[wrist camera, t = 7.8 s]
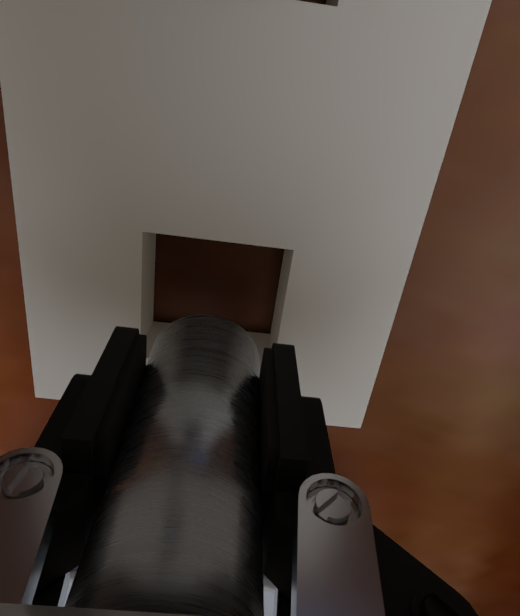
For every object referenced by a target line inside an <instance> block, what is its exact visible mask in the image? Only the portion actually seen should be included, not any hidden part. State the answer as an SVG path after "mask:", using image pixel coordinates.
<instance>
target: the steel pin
mask: <svg viewBox="0 0 520 616" xmlns="http://www.w3.org/2000/svg"><path fill="white" fill-rule="evenodd" d="M259 375H260V361H259V353H258V349H257V347H256V344H255V342H254V341H253V339H252V337H251V336H250V335H249V334H248V333H247V332H246V331H245V330H244V329H243V328H242V327H241V326H239V325H238V324H236V323H234V322H233V321H231V320H228V319H226V318H223V317H220V316H215V315H208V314H198V315H191V316H186V317H183V318H180V319H178V320H176V321H174V322H172V323H170V324H169V325H168V326H166V327H165V328H164V329H163V330H162V331H161V332H160V333H159V335H158V336H157V338H156V339H155V342H154V344H153V347H152V349H151V352H150V355H149V358H148V361H147V364H146V368H145V371H144V374H143V377H142V380H141V383H140V386H139V389H138V392H137V395H136V398H135V401H134V404H133V407H132V410H131V413H130V415H129V418H128V421H127V424H126V427H125V430H124V433H123V436H122V439H121V442H120V445H119V448H118V451H117V454H116V457H115V460H114V463H113V466H112V469H111V472H110V475H109V478H108V481H107V484H106V486H105V488H104V491H103V494H102V497H101V500H100V503H99V506H98V509H97V512H96V515H95V518H94V521H93V524H92V527H91V530H90V533H89V536H88V539H87V542H86V545H85V548H84V551H83V554H82V557H81V559H80V562H79V565H78V568H77V571H76V574H75V577H74V580H73V583H72V586H71V589H70V592H69V595H68V598H67V601H66V604H65V607H75V608H91V609H106V610H121V611H137V612H152V613H167V614H182V615H197V616H264V588H263V530H262V501H261V483H260V413H259Z"/></svg>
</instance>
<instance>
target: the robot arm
mask: <svg viewBox="0 0 520 616" xmlns="http://www.w3.org/2000/svg"><path fill="white" fill-rule="evenodd" d="M146 350H147V336H146V335H142V334H139V329H138V328H130V327H121V326H116V327H115V329H114V331H113V333H112V335H111V337H110V339H109V341H108V343H107V345H106V347H105V349H104V351H103V353H102V355H101V357H100V359H99V361H98V363H97V365H96V367H95V369H94V371H93V373H92V375H85V374H75V375H74V376H73V377H72V379H71V381H70V383H69V384H68V386H67V388H66V390H65V392H64V393H63V395H62V397H61V399H60V401H59V403H58V404H57V406H56V408H55V410H54V412H53V414H52V415H51V417H50V419H49V421H48V423H47V424H46V426H45V428H44V430H43V432H42V434H41V435H40V437H39V439H38V441H37V443H36V445H35V446H34V447H28V448H20V449H16V450H13V451H9V452H7V453H5V454H3V455H1V456H0V616H197V615H182V614H167V613H152V612H137V611H121V610H106V609H91V608H75V607H64V603H65V599H66V594H67V590H68V586H69V582H70V578H71V570H73V569H74V568H76V567H77V566H78V565H79V562H80V559H81V557H82V554H83V551H84V548H85V545H86V542H87V539H88V536H89V533H90V530H91V527H92V524H93V521H94V518H95V515H96V512H97V509H98V506H99V503H100V500H101V497H102V494H103V491H104V488H105V486H106V484H107V481H108V478H109V475H110V472H111V469H112V466H113V463H114V460H115V457H116V454H117V451H118V448H119V445H120V442H121V439H122V436H123V433H124V430H125V427H126V424H127V421H128V418H129V415H130V413H131V410H132V407H133V404H134V401H135V398H136V395H137V392H138V389H139V386H140V383H141V380H142V377H143V374H144V371H145V368H146ZM259 413H260V483H261V501H262V530H263V574H264V575H265V576H266V577H267V578H268V579H269V580H270V581H271V582H272V583H273V585H274V586H275V587H276V588H275V594H274V611H273V616H478V615H477V613H476V612H475V611H474V609H473V608H472V606H471V605H470V603H469V602H468V601H467V600H466V599H465V598H464V597H463V596H461V595H460V594H459V593H458V592H457V591H456V590H455V589H453V588H452V587H451V586H449V585H448V584H447V583H446V582H444V581H443V580H442V579H441V578H439V577H438V576H437V575H436V574H434V573H433V572H432V571H431V570H429V569H428V568H427V567H426V566H424V565H423V564H422V563H421V562H419V561H418V560H417V559H416V558H414V557H413V556H412V555H411V554H409V553H408V552H407V551H406V550H404V549H403V548H402V547H401V546H399V545H398V544H397V543H395V542H394V541H393V540H392V539H390V538H389V537H388V536H387V535H385V534H384V533H383V532H382V531H380V530H379V529H378V528H377V527H375V526H374V525H373V524H372V518H371V511H370V506H369V502H368V499H367V497H366V496H365V494H364V493H363V491H362V490H361V489H360V488H359V487H358V486H357V485H356V484H355V483H354V482H352V481H350V480H349V479H347V478H345V477H343V476H340V475H336V474H335V469H334V464H333V459H332V454H331V448H330V443H329V438H328V432H327V427H326V422H325V417H324V411H323V406H322V402H321V399H320V398H315V397H305V396H301V391H300V384H299V376H298V369H297V361H296V354H295V347H294V345H288V344H279V343H273V344H272V348H264V351H263V357H262V363H261V369H260V375H259Z"/></svg>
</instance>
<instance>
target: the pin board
mask: <svg viewBox="0 0 520 616" xmlns="http://www.w3.org/2000/svg"><path fill="white" fill-rule="evenodd" d="M491 2H492V0H326V5H323V4H317V3H311V2H305V1H298V0H0V83H1V92H2V101H3V110H4V119H5V128H6V137H7V146H8V155H9V164H10V173H11V182H12V191H13V200H14V209H15V218H16V227H17V236H18V245H19V254H20V263H21V272H22V281H23V290H24V299H25V308H26V317H27V326H28V335H29V344H30V353H31V362H32V371H33V380H34V389H35V397H37V398H47V399H58V400H60V399H61V397H62V395H63V393H64V392H65V390H66V388H67V386H68V384H69V383H70V381H71V379H72V377H73V376H74V375H75V374H85V375H92V373H93V371H94V369H95V367H96V365H97V363H98V361H99V359H100V357H101V355H102V353H103V351H104V349H105V347H106V345H107V343H108V341H109V339H110V337H111V335H112V333H113V331H114V329H115V327H116V326H121V327H130V328H138V329H139V334H142V335H146V336H147V350H146V364H147V361H148V358H149V355H150V352H151V349H152V347H153V344H154V342H155V339H156V338H157V336H158V335H159V333H160V332H161V331H162V330H163V329H164V328H165V327H166V326H168V325H169V324H170V323H165V322H156V321H153V312H154V281H155V251H156V233H157V234H166V235H174V236H182V237H190V238H199V239H207V240H215V241H223V242H231V243H240V244H248V245H256V246H264V247H273V248H281V249H284V254H283V260H282V266H281V272H280V278H279V284H278V290H277V296H276V302H275V308H274V314H273V319H272V325H271V331H270V334H266V333H257V332H248V331H246V332H247V333H248V334H249V335H250V336H251V337H252V339H253V341H254V342H255V344H256V347H257V349H258V353H259V361H260V369H261V363H262V357H263V351H264V348H272V344H273V343H279V344H288V345H294V347H295V354H296V361H297V369H298V376H299V384H300V391H301V396H305V397H315V398H320V399H321V402H322V406H323V411H324V417H325V422H326V425H331V426H341V427H352V428H361V425H362V422H363V418H364V415H365V412H366V409H367V405H368V402H369V399H370V396H371V392H372V389H373V386H374V383H375V379H376V376H377V373H378V370H379V366H380V363H381V360H382V357H383V353H384V350H385V347H386V344H387V340H388V337H389V334H390V331H391V327H392V324H393V321H394V318H395V314H396V311H397V308H398V305H399V301H400V298H401V295H402V291H403V288H404V285H405V282H406V278H407V275H408V272H409V269H410V265H411V262H412V259H413V256H414V252H415V249H416V246H417V243H418V239H419V236H420V233H421V230H422V226H423V223H424V220H425V217H426V213H427V210H428V207H429V204H430V200H431V197H432V194H433V191H434V187H435V184H436V181H437V178H438V174H439V171H440V168H441V165H442V161H443V158H444V155H445V151H446V148H447V145H448V142H449V138H450V135H451V132H452V129H453V125H454V122H455V119H456V116H457V112H458V109H459V106H460V103H461V99H462V96H463V93H464V90H465V86H466V83H467V80H468V77H469V73H470V70H471V67H472V64H473V60H474V57H475V54H476V51H477V47H478V44H479V41H480V38H481V34H482V31H483V28H484V25H485V21H486V18H487V15H488V12H489V8H490V5H491Z"/></svg>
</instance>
